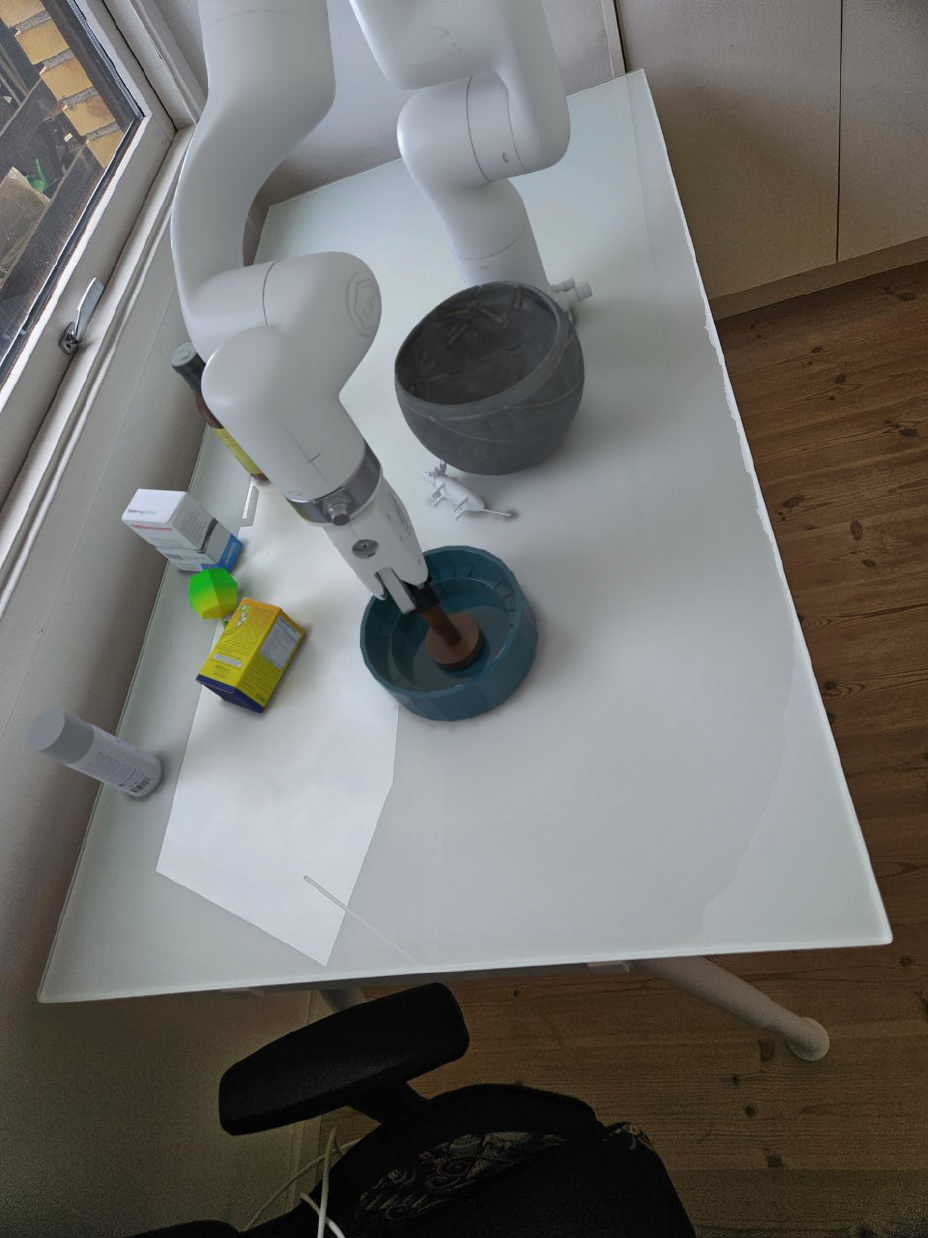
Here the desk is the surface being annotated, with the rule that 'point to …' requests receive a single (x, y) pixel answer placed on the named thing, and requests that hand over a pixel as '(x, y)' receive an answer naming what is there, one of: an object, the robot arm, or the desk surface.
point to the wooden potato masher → (452, 638)
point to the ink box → (182, 530)
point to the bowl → (491, 378)
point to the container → (94, 752)
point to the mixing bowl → (462, 587)
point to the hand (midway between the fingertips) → (420, 595)
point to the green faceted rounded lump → (213, 594)
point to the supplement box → (251, 654)
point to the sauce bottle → (191, 370)
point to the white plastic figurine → (454, 491)
